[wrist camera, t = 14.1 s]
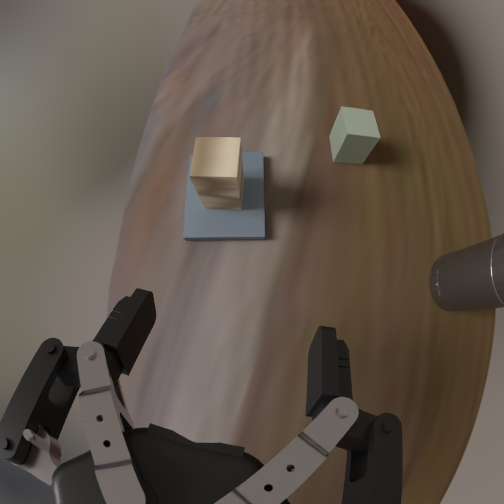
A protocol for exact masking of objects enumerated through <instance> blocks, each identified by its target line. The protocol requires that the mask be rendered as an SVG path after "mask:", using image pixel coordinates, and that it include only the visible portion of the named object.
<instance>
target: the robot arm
mask: <svg viewBox="0 0 504 504" xmlns="http://www.w3.org/2000/svg"><path fill="white" fill-rule="evenodd" d="M430 287H431V292H432V295H433V298H434V300H435V302H436V303H437V304H438V305H439V306H440V307H441V308H442V309H444V310H449V311H453V310H473V309H487V308H498V307H499V308H500V307H504V234H501V235H499V236H496V237H494V238H491V239H488V240H486V241H483V242H480V243H478V244H475V245H472V246H469V247H467V248H464V249H461V250H458V251H455V252H452V253H449V254H447V255H444V256H442V257H440V258H439V259H438V260H437V261H436V262H435V264H434V266H433V268H432V271H431V276H430ZM155 320H156V309H155V303H154V297H153V293H152V292H151V291H147V290H143V289H139V288H138V289H136V290H135V291H134V293H133V294H132V296H131V297H128V296H126V297H124V298H123V299H122V300H120V301H119V302H118V303H117V304H116V306H115V307H114V309H113V311H112V312H111V313H110V315H109V318H107V320H106V321H105V323H104V324H103V326H102V327H101V329H100V330H99V332H98V334H97V335H96V337H95V338H94V340H93V341H90V342H86V343H84V344H82V345H81V346H80V347H69V346H63V344H62V342H61V341H60V340H59V339H56V338H49V339H47V340H45V341H44V342H43V343H42V344H41V346H40V348H39V349H38V351H37V352H36V354H35V356H34V357H33V359H32V361H31V363H30V365H29V366H28V368H27V370H26V372H25V373H24V375H23V377H22V379H21V381H20V383H19V385H18V387H17V388H16V390H15V392H14V394H13V397H12V399H11V401H10V403H9V405H8V407H7V409H6V411H5V413H4V415H3V418H2V420H1V422H0V456H1V457H3V458H4V459H6V460H8V461H10V462H11V463H12V464H15V465H16V466H18V467H20V468H22V469H25V470H27V471H28V472H30V473H31V474H33V475H34V476H36V477H37V478H39V479H40V480H42V481H43V482H45V483H47V484H48V485H50V486H51V487H52V493H53V499H54V504H290V503H289V501H288V500H287V497H288V496H289V495H290V494H291V493H293V492H294V491H295V490H296V489H297V488H298V487H299V486H300V485H301V484H302V483H303V482H304V481H305V480H306V479H307V478H308V477H309V476H310V475H311V474H312V473H313V472H314V471H315V470H316V469H317V468H318V467H319V466H320V465H321V464H322V462H323V461H324V460H325V459H326V458H327V456H328V454H329V452H330V451H331V450H332V449H333V448H334V447H335V446H337V447H339V448H342V449H345V450H347V462H346V472H345V482H344V490H343V498H342V504H401V494H402V426H401V422H400V420H399V419H398V417H397V416H395V415H393V414H391V413H383V414H381V415H379V416H375V415H372V414H370V413H367V412H364V411H362V410H361V409H359V408H358V407H357V405H356V404H355V402H354V401H353V398H352V385H351V371H350V361H349V349H348V347H347V346H346V344H345V342H344V340H337V337H336V329H335V328H332V327H325V326H319V327H318V330H317V332H316V334H315V336H314V339H313V341H312V343H311V346H310V349H309V354H308V380H307V401H306V416H309V417H312V422H311V423H310V424H309V425H308V426H307V427H306V428H305V429H304V430H303V431H302V432H301V433H300V434H299V435H298V436H297V437H296V438H295V439H294V440H293V441H292V442H290V443H289V444H288V445H287V446H286V447H285V448H284V449H283V450H282V451H281V452H280V453H278V454H277V455H276V456H275V457H274V458H273V459H272V460H271V461H269V462H268V463H267V464H266V465H265V466H264V465H263V463H261V462H260V461H259V460H258V459H257V458H255V457H254V456H252V455H250V454H248V453H246V452H244V449H245V447H239V446H234V445H229V444H224V443H195V442H192V441H190V440H188V439H187V438H185V437H183V436H181V435H179V434H178V433H176V432H174V431H172V430H169V429H166V428H163V427H160V426H157V425H154V424H151V423H150V425H149V428H135V426H134V423H133V421H132V419H131V417H130V415H129V412H128V409H127V406H126V403H125V399H124V396H123V392H122V389H121V385H120V381H119V377H120V375H121V373H123V374H126V375H128V376H129V374H130V372H131V370H132V367H133V365H134V363H135V361H136V359H137V357H138V355H139V353H140V351H141V349H142V347H143V345H144V343H145V341H146V339H147V337H148V335H149V333H150V331H151V329H152V328H153V326H154V323H155ZM80 387H81V390H82V392H81V393H80V394H79V402H80V407H81V412H82V417H83V422H84V426H85V430H86V435H87V439H88V442H89V446H90V450H89V451H87V452H85V453H83V454H81V455H79V456H77V457H75V458H73V459H71V460H69V461H67V462H65V463H63V464H61V461H60V457H61V447H60V444H59V442H58V441H57V440H58V438H59V435H60V433H61V430H62V428H63V425H64V423H65V420H66V418H67V415H68V413H69V410H70V408H71V406H72V404H73V401H74V399H75V397H76V395H77V392H78V390H79V388H80Z"/></svg>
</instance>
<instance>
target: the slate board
mask: <svg viewBox="0 0 504 504" xmlns="http://www.w3.org/2000/svg"><path fill="white" fill-rule="evenodd" d="M192 157H193V154H190V157H189V167H188V177H187V188H186V199H185V213H184V228H183V238H184V239H185V240H265V211H264V164H263V152H242V160H243V172H244V183H243V195H242V208H241V210H225V209H205V208H204V206H203V204H202V202H201V200H200V197H199V195H198V193H197V191H196V189H195V187H194V185H193V183H192V181H191V179H190V177H189V175H190V169H191V163H192Z"/></svg>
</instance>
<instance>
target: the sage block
mask: <svg viewBox="0 0 504 504" xmlns="http://www.w3.org/2000/svg"><path fill="white" fill-rule="evenodd" d="M329 138H330V144H331V151H332V157H333V162H338V163H351V164H363V163H364V161H365V160H366V158H367V157H368V155H369V154H370V153H371V151H372V150H373V148H374V147H375V145H376V144H377V142H378V141H379V139H380V134H379V131H378V127H377V123H376V120H375V117H374V113H373V111H370V110H364V109H357V108H349V107H341V108H340V111H339V113H338V116H337V118H336V121H335V123H334V126H333V128H332V131H331V133H330V136H329Z"/></svg>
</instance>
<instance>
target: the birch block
mask: <svg viewBox="0 0 504 504" xmlns="http://www.w3.org/2000/svg"><path fill="white" fill-rule="evenodd" d="M189 177H190V179H191V181H192V183H193V185H194V187H195V189H196V191H197V193H198V195H199V197H200V200H201V202H202V204H203V206H204V208H205V209H225V210H241V208H242V195H243V183H244V172H243V160H242V148H241V138H231V137H196V141H195V146H194V152H193V157H192V163H191V169H190V175H189Z"/></svg>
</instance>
